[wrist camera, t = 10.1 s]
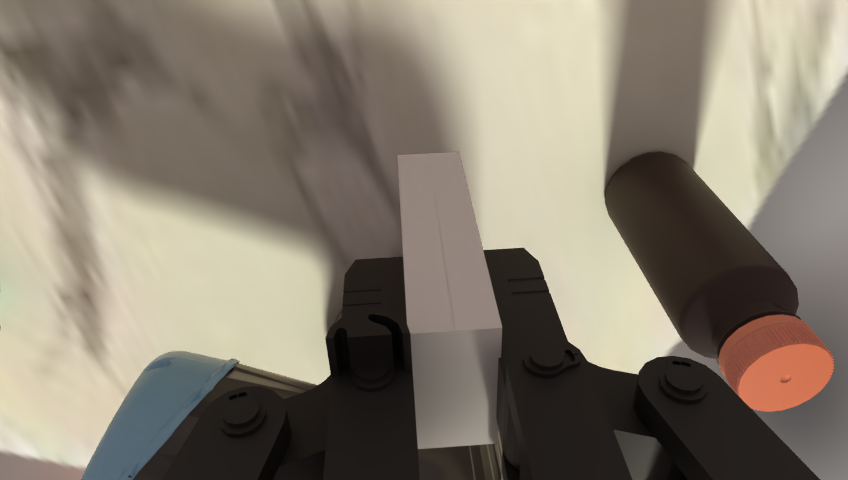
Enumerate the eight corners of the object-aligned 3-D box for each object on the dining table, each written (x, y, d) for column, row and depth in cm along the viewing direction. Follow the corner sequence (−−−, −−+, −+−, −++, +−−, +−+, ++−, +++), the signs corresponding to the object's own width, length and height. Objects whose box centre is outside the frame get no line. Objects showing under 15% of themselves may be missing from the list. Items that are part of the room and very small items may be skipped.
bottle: (594, 226, 51) (700, 424, 34) (615, 147, 47) (745, 325, 30) (677, 229, 51) (821, 426, 35) (703, 152, 48) (879, 329, 31)
